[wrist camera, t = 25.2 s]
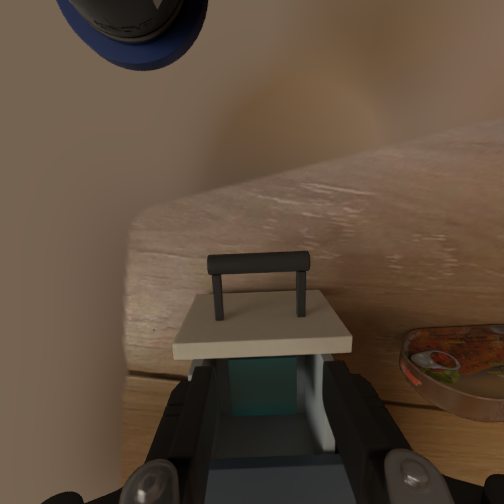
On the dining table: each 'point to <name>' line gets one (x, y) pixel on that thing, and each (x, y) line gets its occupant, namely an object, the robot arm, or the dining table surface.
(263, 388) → the block
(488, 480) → the robot arm
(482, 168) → the dining table surface
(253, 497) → the cabinet
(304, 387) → the drawer
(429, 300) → the dining table surface
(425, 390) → the tin
